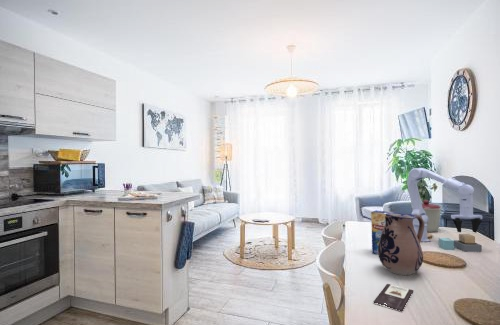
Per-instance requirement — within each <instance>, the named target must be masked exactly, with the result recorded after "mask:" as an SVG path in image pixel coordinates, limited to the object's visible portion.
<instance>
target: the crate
mask: <svg viewBox="0 0 500 325" xmlns="http://www.w3.org/2000/svg"><path fill="white" fill-rule="evenodd" d="M453 241H454V248H456V249H457V250H460V251H462V252H464V253H465V252H468V253H469V252H470V253H471V252H473V253H475V252H479V253H481V252H483V250H482V244H480V243H477V242H475V245H467V244H462V243H460V242H459V239H454V240H453Z"/></svg>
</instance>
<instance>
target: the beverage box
mask: <svg viewBox="0 0 500 325" xmlns="http://www.w3.org/2000/svg"><path fill="white" fill-rule="evenodd" d="M386 213H398V212H397V211H396V212H395V211H385V210H374V211H371V213H370V216H371V217H370V218H371V220H370V221H371V222H370V223H371V252H372V255H378V245H379V241H380V237H381V233H382V230H383V228H384V226H385V223H386V221H385V216H386V215H385V214H386Z"/></svg>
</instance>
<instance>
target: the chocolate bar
mask: <svg viewBox="0 0 500 325" xmlns="http://www.w3.org/2000/svg"><path fill="white" fill-rule="evenodd" d="M411 294H412V295H413V294H414V289H410V288H406V287H402V286H397V285H395V284H391V283H386V284H385V286H384V287H383V289H381V291H380V293H378V295H377V296H376V297H375V299H374V300H373V302H374V303H378V304H381V305H385V306H387V307H390V308H393V309H397V310H400V311H403V312H404V310H405V308H406V306H407V305H406V303H407V302H408V303H409V301H408V300H410V299H409V298H411V297H410V296H412V295H411ZM373 302H372V303H373ZM384 303H386V304H387V305H386V304H384ZM408 303H407V304H408ZM405 305H406V306H405ZM404 307H405V308H404ZM390 308H389V309H390ZM393 309H392V310H393ZM403 309H404V310H403ZM400 311H399V312H400Z"/></svg>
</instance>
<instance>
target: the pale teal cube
mask: <svg viewBox="0 0 500 325" xmlns="http://www.w3.org/2000/svg"><path fill="white" fill-rule="evenodd" d="M438 247H439V248H441V249H442V250H443V251H444V250H447V251H448V250H449V251H454V250H455V247H454V240H453V239H451V238H449V237H438Z"/></svg>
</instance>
